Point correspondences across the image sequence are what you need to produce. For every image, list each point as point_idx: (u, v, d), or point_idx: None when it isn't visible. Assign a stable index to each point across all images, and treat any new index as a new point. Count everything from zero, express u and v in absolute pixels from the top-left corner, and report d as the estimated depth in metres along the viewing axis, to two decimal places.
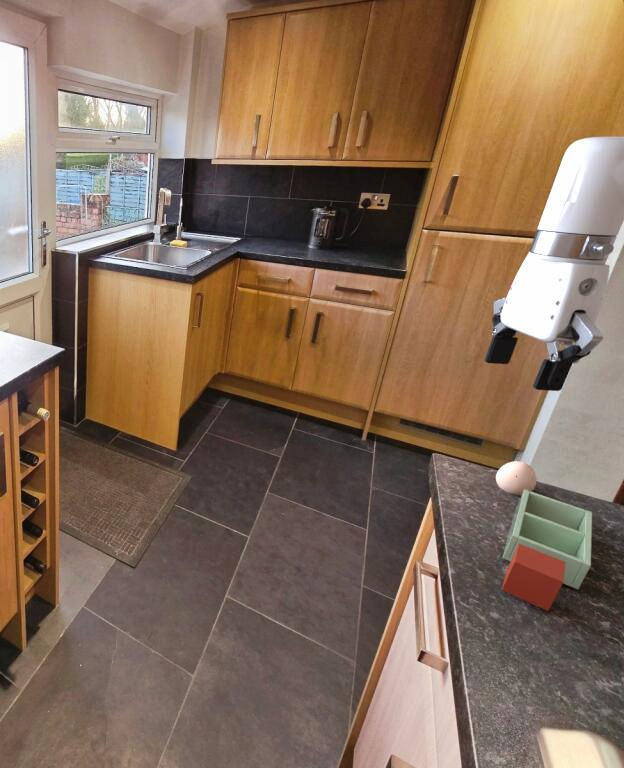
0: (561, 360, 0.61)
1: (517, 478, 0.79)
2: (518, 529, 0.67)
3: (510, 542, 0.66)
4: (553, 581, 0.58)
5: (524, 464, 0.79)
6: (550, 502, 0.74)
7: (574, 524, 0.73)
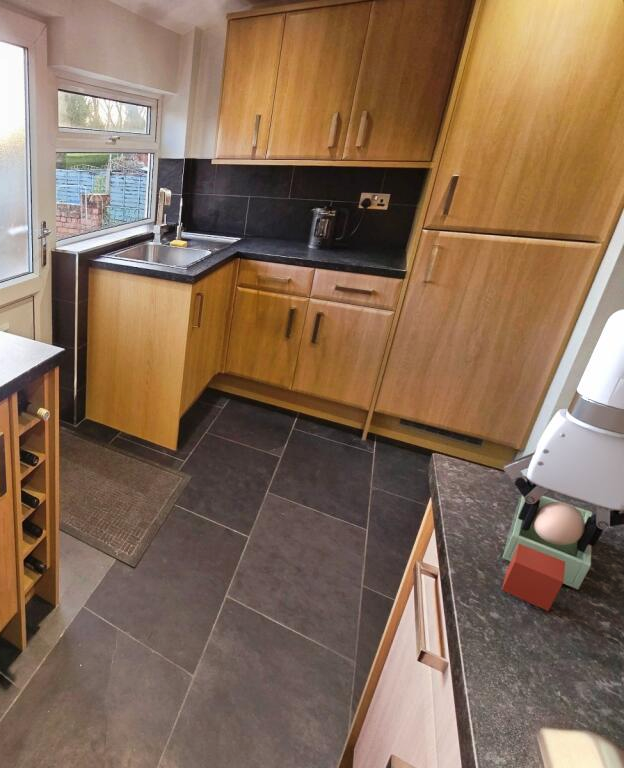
0: None
1: (561, 525, 0.63)
2: (518, 529, 0.67)
3: (510, 542, 0.66)
4: (553, 581, 0.58)
5: (569, 506, 0.64)
6: (550, 502, 0.74)
7: None
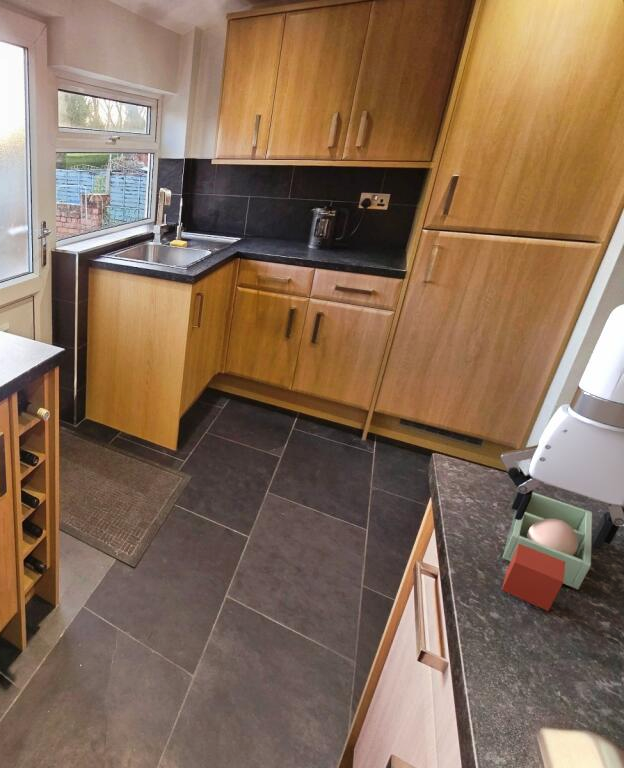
0: None
1: (553, 542, 0.64)
2: (518, 529, 0.67)
3: (510, 542, 0.66)
4: (553, 581, 0.58)
5: (561, 523, 0.64)
6: (550, 502, 0.74)
7: (574, 524, 0.73)
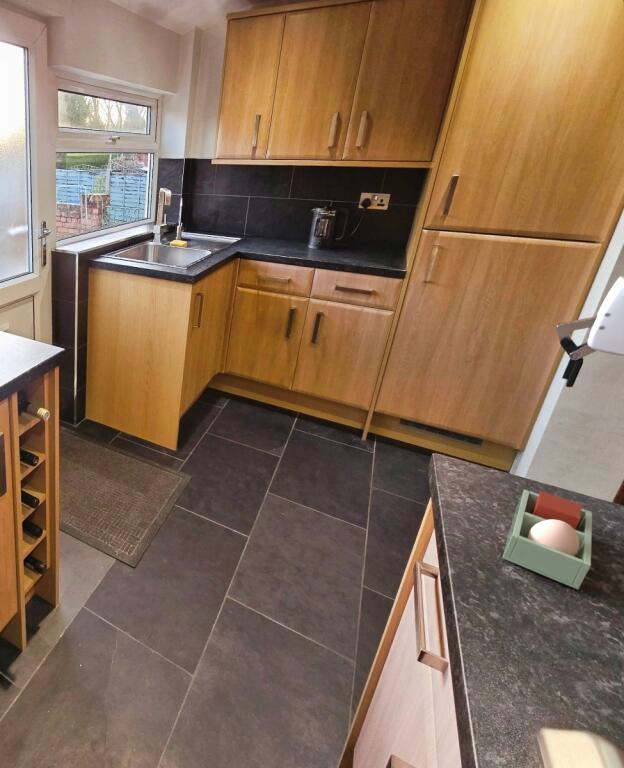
0: None
1: (555, 542, 0.64)
2: (518, 529, 0.67)
3: (510, 542, 0.66)
4: (571, 519, 0.68)
5: (564, 524, 0.65)
6: None
7: None
